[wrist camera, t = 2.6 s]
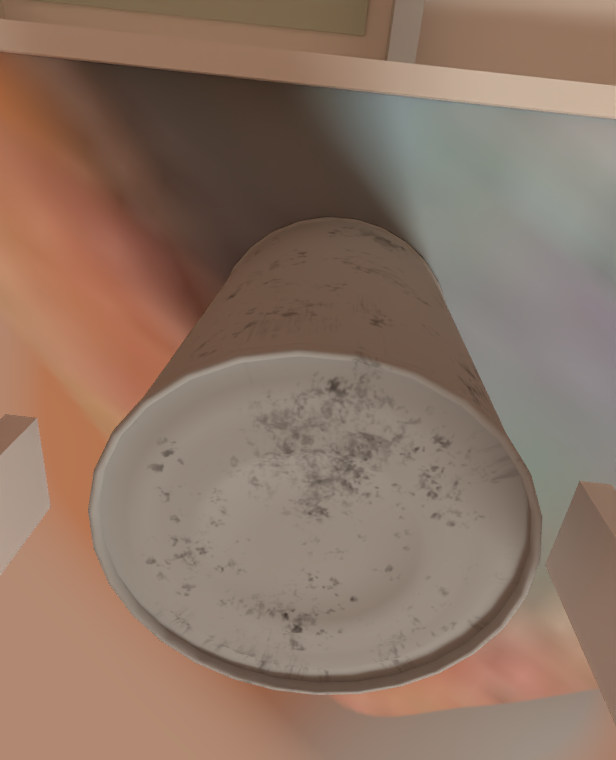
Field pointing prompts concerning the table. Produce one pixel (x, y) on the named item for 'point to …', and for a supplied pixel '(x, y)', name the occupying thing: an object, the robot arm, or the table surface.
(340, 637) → the white speckled round cylinder
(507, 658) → the table surface
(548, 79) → the tray
